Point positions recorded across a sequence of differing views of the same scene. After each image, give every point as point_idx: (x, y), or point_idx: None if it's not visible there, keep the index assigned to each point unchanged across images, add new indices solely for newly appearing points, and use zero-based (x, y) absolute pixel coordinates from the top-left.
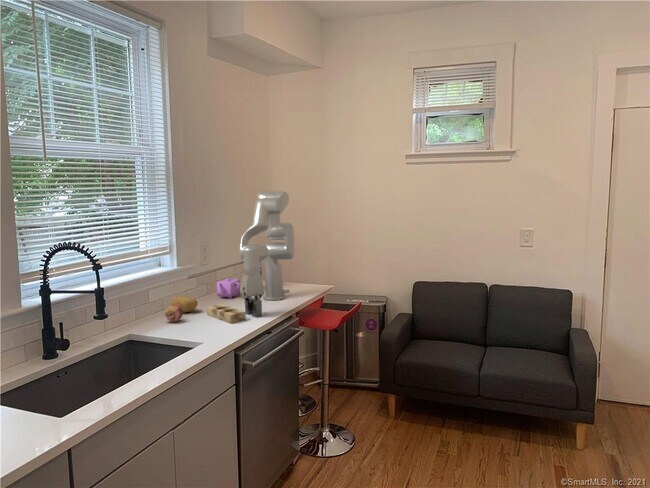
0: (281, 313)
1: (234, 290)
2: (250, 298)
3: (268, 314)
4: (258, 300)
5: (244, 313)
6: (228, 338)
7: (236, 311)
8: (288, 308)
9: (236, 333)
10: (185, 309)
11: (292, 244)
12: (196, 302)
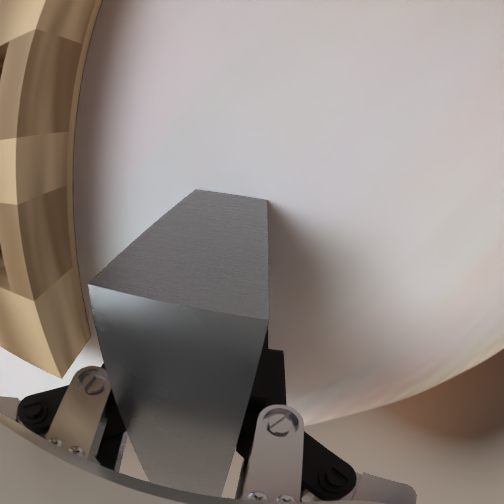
0: (373, 401)
1: None
2: (102, 464)
3: (312, 370)
4: (188, 487)
5: (62, 368)
6: (5, 392)
7: (12, 315)
8: (487, 344)
9: (23, 394)
10: None
11: None
12: None
